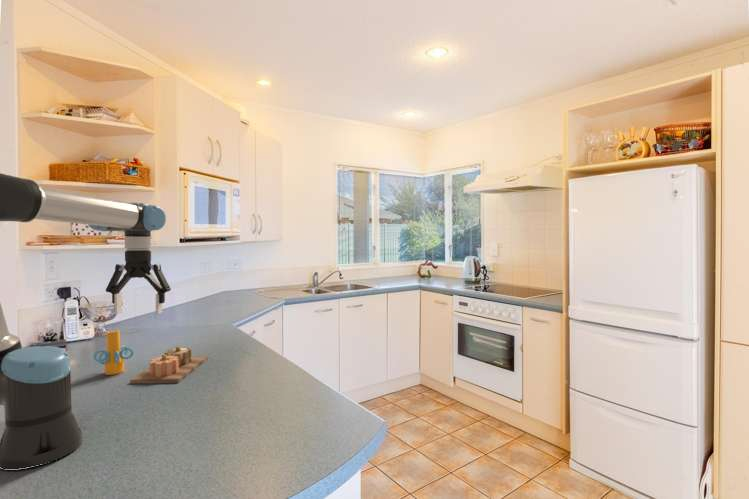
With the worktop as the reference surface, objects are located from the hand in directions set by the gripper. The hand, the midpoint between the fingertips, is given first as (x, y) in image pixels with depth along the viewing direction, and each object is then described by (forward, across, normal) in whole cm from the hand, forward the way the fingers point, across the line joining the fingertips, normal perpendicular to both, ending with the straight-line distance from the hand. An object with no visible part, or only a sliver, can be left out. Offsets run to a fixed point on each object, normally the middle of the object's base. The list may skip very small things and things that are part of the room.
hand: (138, 313), depth 132 cm
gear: (+22, -5, -6) cm, 23 cm away
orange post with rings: (+23, +15, -10) cm, 30 cm away
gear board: (+23, -5, -11) cm, 26 cm away
